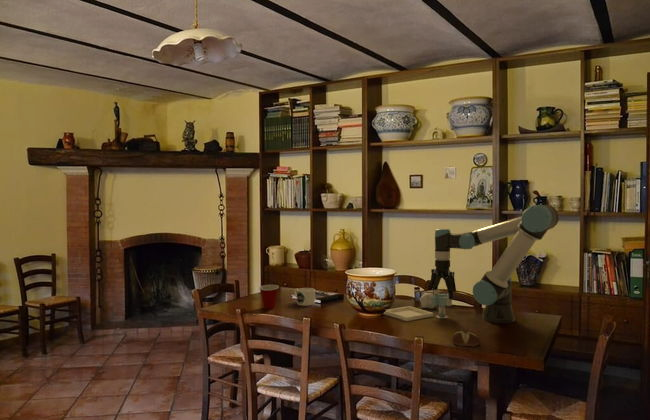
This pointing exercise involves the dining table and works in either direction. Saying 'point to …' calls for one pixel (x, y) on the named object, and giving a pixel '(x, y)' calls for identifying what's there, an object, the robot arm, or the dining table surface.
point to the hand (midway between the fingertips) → (442, 303)
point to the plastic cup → (269, 295)
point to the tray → (408, 313)
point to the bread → (465, 339)
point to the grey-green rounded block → (439, 299)
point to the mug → (305, 296)
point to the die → (426, 300)
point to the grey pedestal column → (441, 312)
